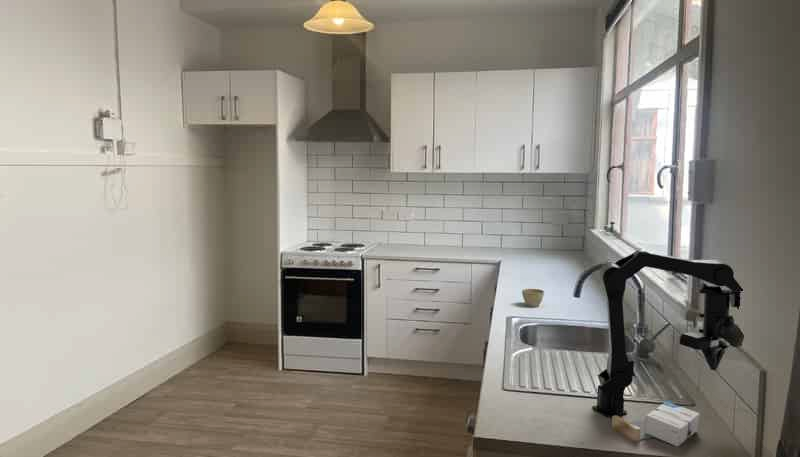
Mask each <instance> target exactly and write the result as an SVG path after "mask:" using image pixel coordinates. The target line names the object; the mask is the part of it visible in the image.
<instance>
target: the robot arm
mask: <svg viewBox="0 0 800 457" xmlns="http://www.w3.org/2000/svg"><path fill="white" fill-rule="evenodd" d="M646 267H647V268H652V269H657V270H661V271H666V272H671V273H676V274H682V275H687V276H691V277H694V278H696V279H699V280H701V281H704V282H702V283H701V284H700V285H699V286H697V287H695V291H696V292H697V293H699V294H703V297H704V298H703V312H699V317H700V318H703V320H702V327H701V328H698V333H696V332H694V331H691V332H683V333H681V334H680V335H679V345H681V346H684V347H686V348H687V347H688V348H690V349H694V350H697V351H701V353H702V354H703V356H704V358H705V361H706V363H707V364H708V367H709V369H710V370H711V371H713V372H714V371H717V370H718V367H719V365H720V363H721V361H722V358H723V356H724V354H725V353H726V351H728V349H727V348H728V347H729V346H727V345H726V341H727V342H728V343H730V345H731V346H733V348H740V347H742V342H743V339H744V335H743V333H742V332H741V330H740V328H739V327H738V325H739V324H736V323H735V318H734V317H733V316H734V315H731V314H730V307H731V308H734V307H737V309H739V306H740V299H741V298H740V293H741V292H740V291H743V289H742V288H741V286H740V285H741V284H740V283H739V282H738V281H737V280H736V278H735V277H734V276H735V273H734V270H733V268H732V266H730V265H729V264H727V263H724V262H723V261H721V260H718V259H687V258H682V257H677V256H673V255H668V254H661V253H657V252H651V251H647V250H645V249H637V250H635V251H634V252H633V253H631V254H629V255H626V256H625V257H623V258H621V259H620V258H619V259H618V260H617V261H615V262H613V263H612V262H609V263H606V264H604V265H603V266H602V267H601V268H600V271H599V276H600V280H601V284H602V287H603V291H604V294H605V297H606V309H607V312H606V313H607V324H608V338H609V342H608V343H609V351H608V356H607V362H606V368H605V369H604V370H603V371H601V372H600V373H598V374H597V378H598V380H599V385H597V397H596V398H597V399H596V400H597V401H596V402H597V403H596V405H593V406H592V407H591V409H593V410H595V411H597V412H599V413H600V414H602V415H604V416H606V417H607V418H608V417H609V418H612V417H613V416H616V415H617V416H621V415H626V414H628V411H627V410H625V407H624V406H625V405H624V404H625V398H624V395H625V394H624V393H625V391H626V389H627V387H629V386H630V385H631V384H632V383H633V380H634V377H636V374H635V370H634V368H635V360H634V359H633V357H632V354H627V350H626V349H627V348H626V336H625V334H626V332H625V316H624V307H623V306H624V305H623V303H624V302H623V299H624V295H625V291H626V287H627V286H626V285H627V280H629V279H630V278H632V277H634V276H635V275H636V274H637V273H639V271H641V270H642V269H643V268H646ZM707 283H709V284H712V285H707ZM722 287H726V288H727V289H722ZM700 333H701V334H700Z"/></svg>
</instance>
